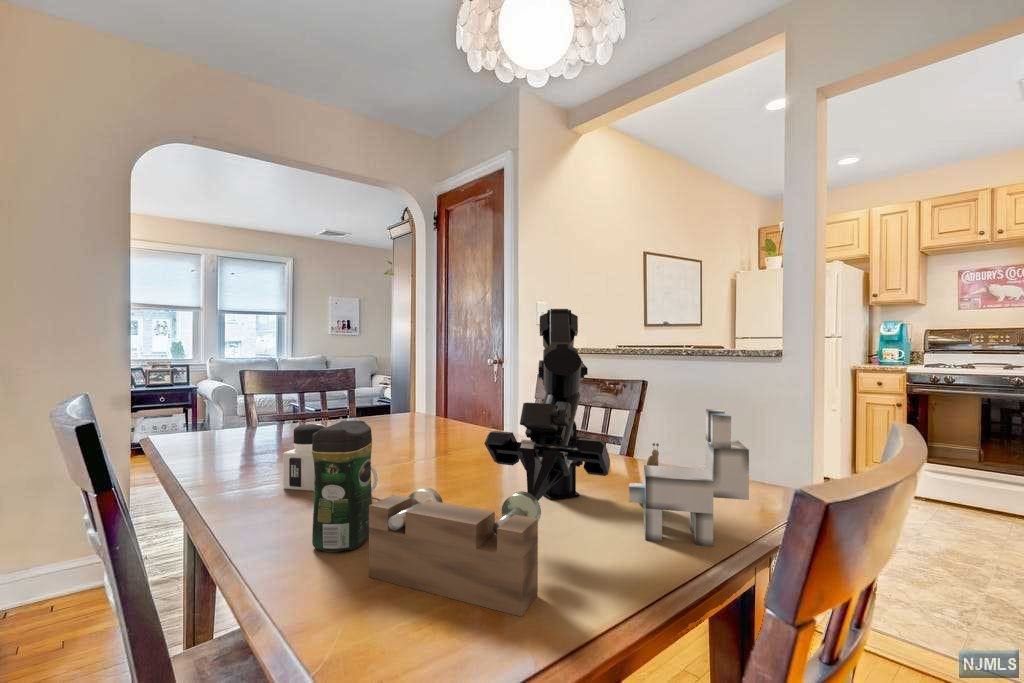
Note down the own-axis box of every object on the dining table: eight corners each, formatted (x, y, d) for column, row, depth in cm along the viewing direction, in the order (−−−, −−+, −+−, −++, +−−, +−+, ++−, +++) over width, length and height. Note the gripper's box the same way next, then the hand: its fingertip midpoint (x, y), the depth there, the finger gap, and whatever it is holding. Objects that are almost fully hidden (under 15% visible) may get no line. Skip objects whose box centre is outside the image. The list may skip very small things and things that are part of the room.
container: (315, 491, 102) (315, 428, 102) (282, 489, 103) (282, 427, 103) (335, 481, 109) (336, 422, 109) (304, 479, 111) (305, 421, 111)
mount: (393, 561, 69) (393, 494, 69) (537, 595, 60) (537, 518, 60) (368, 577, 65) (369, 505, 65) (521, 616, 56) (521, 532, 56)
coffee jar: (332, 528, 82) (332, 416, 82) (378, 530, 81) (379, 417, 81) (302, 553, 72) (302, 427, 72) (354, 555, 71) (355, 428, 71)
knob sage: (507, 524, 69) (507, 489, 69) (540, 530, 67) (541, 494, 67) (481, 545, 62) (481, 505, 62) (517, 552, 60) (518, 511, 60)
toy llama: (628, 521, 85) (629, 406, 85) (737, 531, 81) (738, 410, 81) (629, 538, 78) (629, 412, 78) (748, 549, 74) (749, 416, 74)
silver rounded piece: (413, 520, 71) (414, 485, 71) (443, 525, 68) (443, 489, 68) (378, 539, 64) (378, 501, 64) (409, 546, 61) (410, 506, 61)
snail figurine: (670, 508, 92) (670, 444, 92) (665, 519, 86) (666, 451, 86) (641, 503, 95) (641, 441, 95) (634, 514, 89) (634, 448, 89)
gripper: (490, 380, 79) (453, 464, 68) (605, 384, 71) (583, 479, 61) (510, 422, 86) (480, 504, 75) (617, 430, 78) (599, 523, 68)
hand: (531, 502), depth 70 cm, fingers closed
